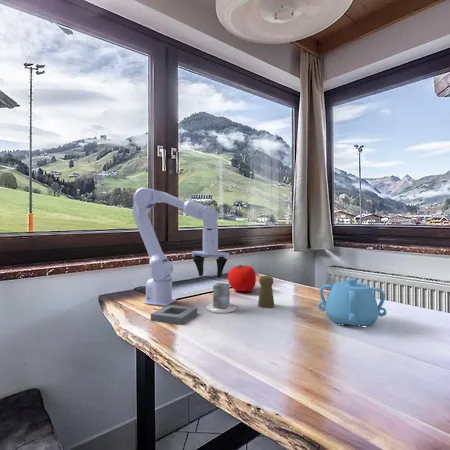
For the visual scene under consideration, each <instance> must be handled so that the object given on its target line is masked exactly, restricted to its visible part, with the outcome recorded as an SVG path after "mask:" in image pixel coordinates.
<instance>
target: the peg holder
mask: <svg viewBox="0 0 450 450" xmlns="http://www.w3.org/2000/svg"><path fill="white" fill-rule="evenodd" d="M197 315H198V307H192V306H183V305H177V304H169V305H167V306H164V307H163V306H162V308H160V309H158V310H156V311H153V312H152V313H150V321H155V322H163V323H170V324H175V325H183V324H184V323H186V322H187V321H189V320H190V319H192V318H193V317H194V316H197Z"/></svg>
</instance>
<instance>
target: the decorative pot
mask: <svg viewBox="0 0 450 450" xmlns="http://www.w3.org/2000/svg"><path fill="white" fill-rule="evenodd" d="M357 281H358V279H357V278H353V277H347V278H345V281H335V282H334V283H333V284H328V283H327V284H324V285H322V286H320V288H319V296H320V299H321V302H319V303H318V304H317V307H318V310H320V311H322V312H325V313H326V315H327V316H328V318H329V320H331V321H332V322H335V324H336V323H337V324H336V325H338V324H340V325H339V326H343V325H342V324H345V325H351V326H358V325H360V326H372V325H374V323H376V321H377V320H378V319H379V317H385V316H386V315H387V309H386V308H385V307H383V305H384V303H385V299H386V293H385V292H384V290H382V289H381V288H379V287H371V286H370V285H368V284H367V283H364V282H357ZM324 289H329V291H328V294H327V297H326V298H325V295H324ZM374 292H378V293H380V294H381V296H380V297H381V298H380V300H379V303H378V302H377V299H376V297H375V294H374ZM322 305H323V307H322ZM381 311H383V312H381Z"/></svg>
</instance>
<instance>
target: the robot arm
mask: <svg viewBox="0 0 450 450" xmlns="http://www.w3.org/2000/svg"><path fill="white" fill-rule="evenodd" d="M132 198H133V199H132V200H133V205H132V216H133V219H134V221H135V224H136V227H137V229H138V232H139V235H140V237H141V239H142V241H143V244H144V247H145V249H146V251H147V255H148V257H149V263H148V264H149V267H150V276H151V278H149V279H148V280H147V281H146V283H145V302H144V304H148V305H154V306H162V307H163V306H164V307H165V306H167V305H172V303H175V302H177V299H176V298H173V281H172V280H173V278H172V276H171V274H172V272H173V271H174V265H173V264H172V262H171V261H170V260H168V256H167V255H165V253H164V252H163V249H162V247H161V245H160V243H159V239H158V237H157V235H156V232H155V229H154V227H153V225H152V222H151V220H150V217H149V213H150V211H151V209H152V208H153V207H155V205H156V204H159V203H165V204H167V205H170V206H173V207H176V208H179V209H180V210H182V211H183V213H184V215H187V216H189V217H192V218H193V219H196V220H198V221H201V220H202V222H203V223H202V225H203V226H202V250H193V251H191V257H193V258H192V260H193V262H194V264H195V267H196V269H197V271H198V277H202V276H204V262H205V258H214V259H216V260H215V261H216V267H217V271H216V272H217V279H220V278H222V275H223V271H224V268H225V265H226V263H228V262H227V261H228V259H229V258H230V252H224V251H219V228H218V227H219V225H218V219H219V212H218V210H216V209H215V208H213V207H209V205H207V204H202V203H199V202H198V200H196V199H192V200H191V199H188V200H183V199H181V198H179V197H177V196H174V195H172V194H169V193H168V192H164V191H160V190H156V189H153V188H148V187H143V186H142V187H139V188H138V189H137V190H136V191H135V193H134V194H133V197H132Z"/></svg>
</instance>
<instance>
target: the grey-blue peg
mask: <svg viewBox="0 0 450 450" xmlns="http://www.w3.org/2000/svg"><path fill="white" fill-rule="evenodd" d="M230 288H231V286H230V284H229V283H223V282H217V283H215V284H214V285H212V304H213V308H218V309H226V308H227V307H229V306H230V303H231V302H230V298H231V297H230V294H231V293H230Z"/></svg>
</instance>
